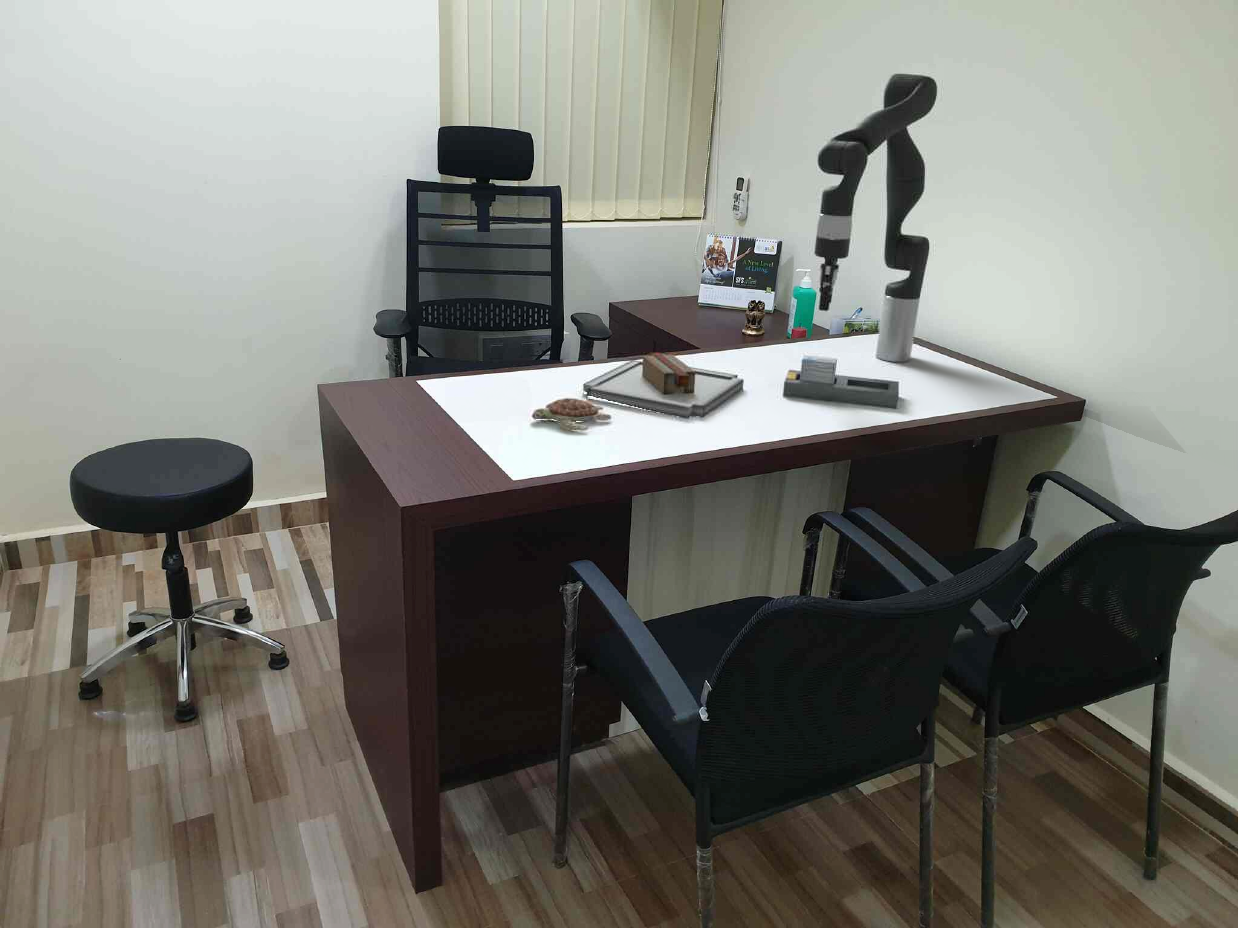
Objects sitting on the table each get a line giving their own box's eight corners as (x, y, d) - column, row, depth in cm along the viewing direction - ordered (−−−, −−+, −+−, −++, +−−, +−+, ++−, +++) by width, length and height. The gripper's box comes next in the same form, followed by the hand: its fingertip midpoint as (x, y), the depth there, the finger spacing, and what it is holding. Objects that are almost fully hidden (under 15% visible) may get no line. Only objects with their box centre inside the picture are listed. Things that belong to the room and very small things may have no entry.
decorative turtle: (522, 410, 200) (522, 388, 198) (594, 405, 205) (595, 384, 204) (542, 438, 184) (542, 415, 183) (620, 432, 190) (621, 409, 188)
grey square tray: (577, 399, 210) (578, 368, 207) (636, 369, 235) (637, 341, 232) (697, 423, 197) (700, 390, 194) (746, 389, 222) (748, 359, 219)
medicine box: (833, 393, 220) (837, 358, 217) (831, 398, 216) (836, 362, 213) (800, 389, 222) (804, 354, 219) (797, 394, 218) (801, 359, 215)
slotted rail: (787, 383, 226) (789, 369, 224) (896, 395, 219) (898, 380, 218) (782, 396, 216) (784, 381, 214) (896, 409, 210) (898, 393, 208)
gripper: (819, 230, 213) (811, 299, 219) (814, 238, 200) (805, 311, 206) (852, 232, 211) (843, 302, 217) (849, 240, 198) (839, 314, 204)
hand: (824, 306), depth 211 cm, fingers open, 8 cm apart
